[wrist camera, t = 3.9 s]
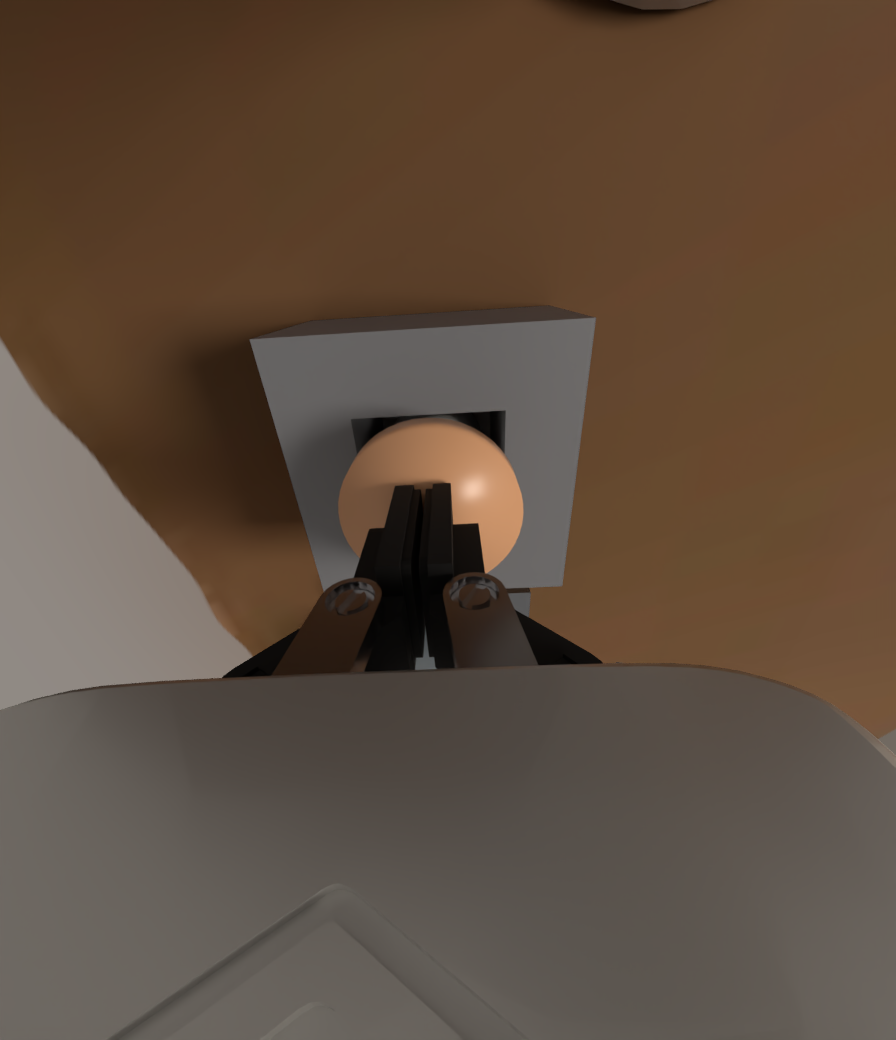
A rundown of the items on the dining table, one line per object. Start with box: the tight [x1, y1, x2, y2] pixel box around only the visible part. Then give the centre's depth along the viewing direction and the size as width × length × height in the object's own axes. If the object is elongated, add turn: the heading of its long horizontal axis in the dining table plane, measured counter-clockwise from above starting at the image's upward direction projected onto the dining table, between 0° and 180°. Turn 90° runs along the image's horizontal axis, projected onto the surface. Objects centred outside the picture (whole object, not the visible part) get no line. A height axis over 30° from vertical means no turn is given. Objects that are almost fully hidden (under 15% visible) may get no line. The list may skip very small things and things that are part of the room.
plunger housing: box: [250, 306, 596, 591], centre depth 16 cm, size 10×10×6 cm
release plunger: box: [338, 412, 523, 573], centre depth 15 cm, size 6×6×6 cm
